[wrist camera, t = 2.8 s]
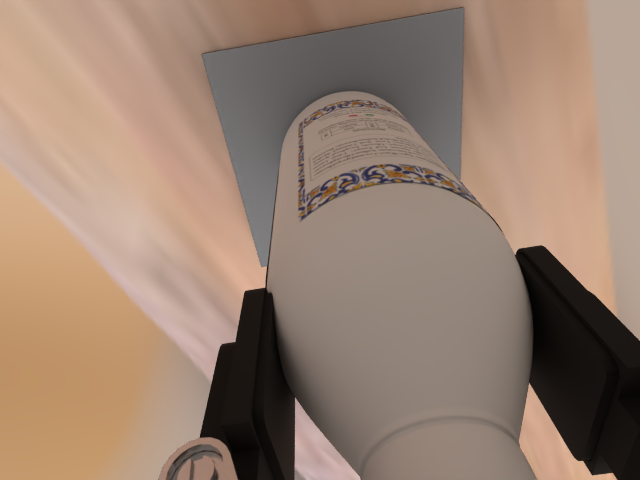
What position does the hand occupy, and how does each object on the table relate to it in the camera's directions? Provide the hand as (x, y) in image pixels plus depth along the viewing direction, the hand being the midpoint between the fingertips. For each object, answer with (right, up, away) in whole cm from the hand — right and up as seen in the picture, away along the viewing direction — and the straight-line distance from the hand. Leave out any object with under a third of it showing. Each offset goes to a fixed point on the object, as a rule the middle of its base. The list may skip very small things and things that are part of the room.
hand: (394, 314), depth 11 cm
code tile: (-1, +6, +11) cm, 13 cm away
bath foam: (-1, +6, +11) cm, 13 cm away
